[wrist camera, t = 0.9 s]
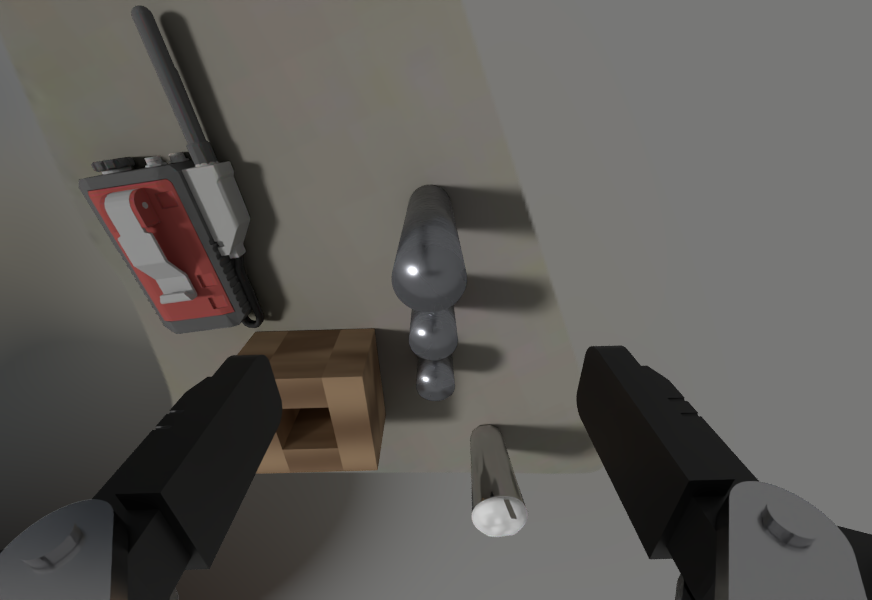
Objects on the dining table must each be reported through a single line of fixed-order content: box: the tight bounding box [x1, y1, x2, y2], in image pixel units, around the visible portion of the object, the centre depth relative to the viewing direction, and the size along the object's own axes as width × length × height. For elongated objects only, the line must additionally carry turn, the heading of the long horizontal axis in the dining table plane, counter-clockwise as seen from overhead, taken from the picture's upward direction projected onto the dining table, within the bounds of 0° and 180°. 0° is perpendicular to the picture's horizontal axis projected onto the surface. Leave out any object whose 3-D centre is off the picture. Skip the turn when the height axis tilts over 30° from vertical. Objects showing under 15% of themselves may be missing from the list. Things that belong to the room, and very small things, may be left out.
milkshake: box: [470, 425, 528, 537], centre depth 31 cm, size 5×5×10 cm
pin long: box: [392, 185, 467, 313], centre depth 19 cm, size 3×3×12 cm
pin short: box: [416, 353, 455, 401], centre depth 29 cm, size 3×3×4 cm
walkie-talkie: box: [79, 6, 264, 334], centre depth 23 cm, size 9×4×20 cm
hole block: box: [238, 329, 386, 474], centre depth 29 cm, size 10×10×6 cm
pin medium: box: [409, 305, 458, 360], centre depth 25 cm, size 3×3×7 cm
